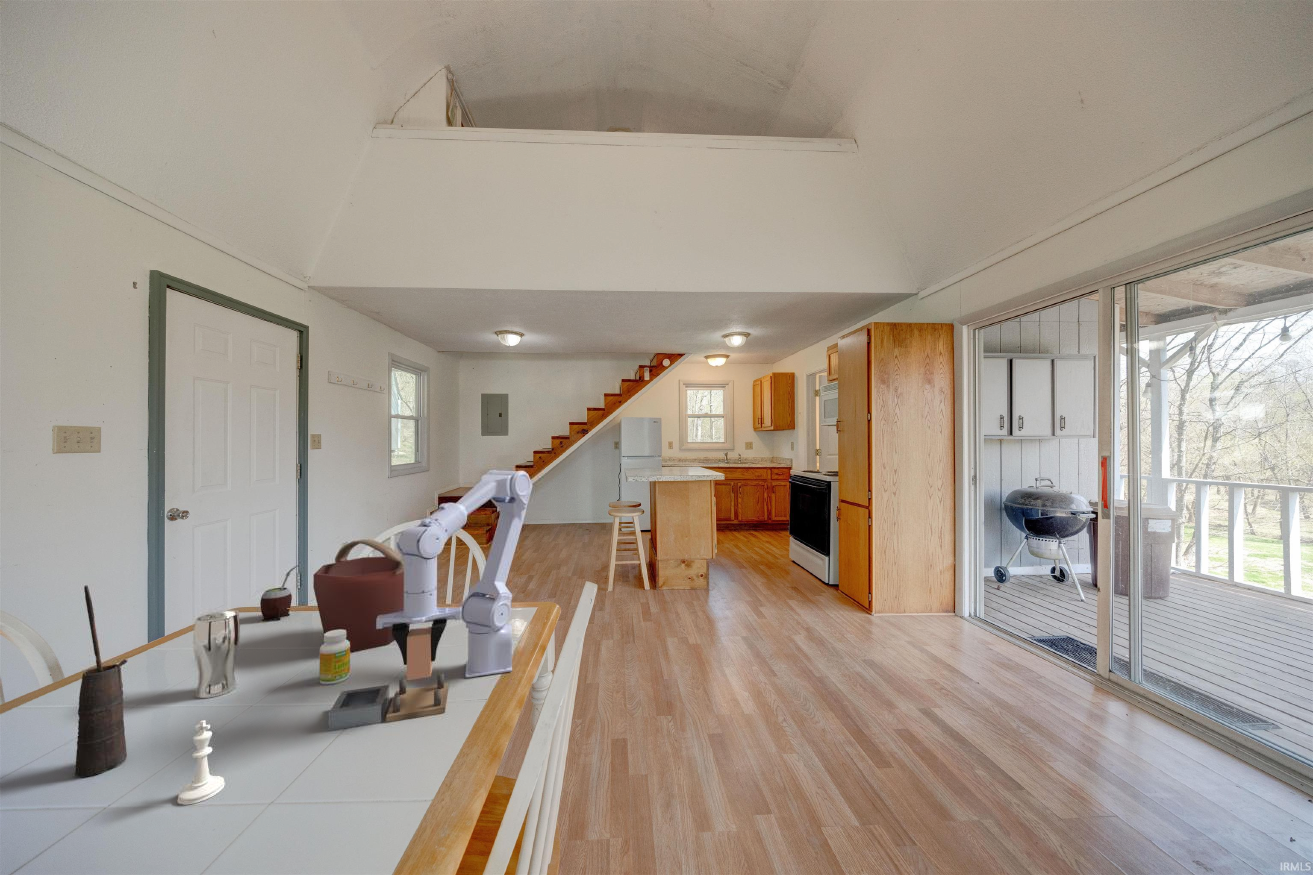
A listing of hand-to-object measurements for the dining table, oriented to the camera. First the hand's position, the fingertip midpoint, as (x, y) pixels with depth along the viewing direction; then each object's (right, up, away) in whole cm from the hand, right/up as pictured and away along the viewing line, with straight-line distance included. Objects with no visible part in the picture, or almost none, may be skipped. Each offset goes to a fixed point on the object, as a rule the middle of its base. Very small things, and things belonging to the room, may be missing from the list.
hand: (420, 660), depth 94 cm
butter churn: (-40, -8, -17) cm, 44 cm away
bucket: (-29, -9, +31) cm, 43 cm away
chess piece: (-20, -8, -24) cm, 32 cm away
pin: (0, -2, 0) cm, 2 cm away
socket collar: (-9, -8, -4) cm, 13 cm away
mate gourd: (-63, -9, +47) cm, 79 cm away
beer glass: (-43, -8, +5) cm, 44 cm away
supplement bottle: (-23, -9, +10) cm, 26 cm away
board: (0, -8, 0) cm, 8 cm away
